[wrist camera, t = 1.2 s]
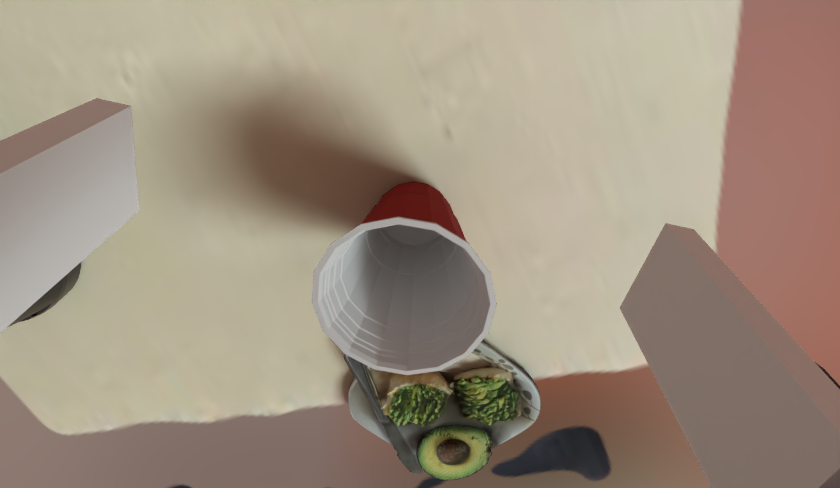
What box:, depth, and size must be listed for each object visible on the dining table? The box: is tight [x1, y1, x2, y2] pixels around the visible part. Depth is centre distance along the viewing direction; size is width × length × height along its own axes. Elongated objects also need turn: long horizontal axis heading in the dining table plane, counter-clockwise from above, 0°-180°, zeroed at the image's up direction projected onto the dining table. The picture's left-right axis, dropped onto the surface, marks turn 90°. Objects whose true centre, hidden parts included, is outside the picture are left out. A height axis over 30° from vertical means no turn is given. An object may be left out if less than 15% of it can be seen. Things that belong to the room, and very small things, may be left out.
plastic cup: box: [312, 182, 497, 375], centre depth 34 cm, size 11×11×12 cm
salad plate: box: [344, 341, 541, 481], centre depth 47 cm, size 19×18×5 cm
